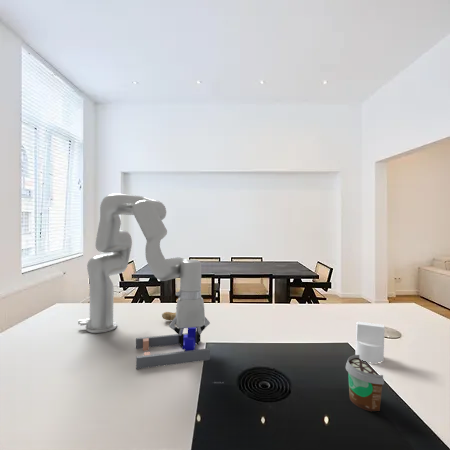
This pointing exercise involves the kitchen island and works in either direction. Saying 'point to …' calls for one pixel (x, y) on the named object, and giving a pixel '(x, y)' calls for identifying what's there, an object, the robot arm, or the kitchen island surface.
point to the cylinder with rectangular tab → (370, 341)
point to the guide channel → (166, 358)
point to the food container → (364, 384)
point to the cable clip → (189, 340)
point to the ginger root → (168, 315)
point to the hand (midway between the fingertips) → (189, 343)
